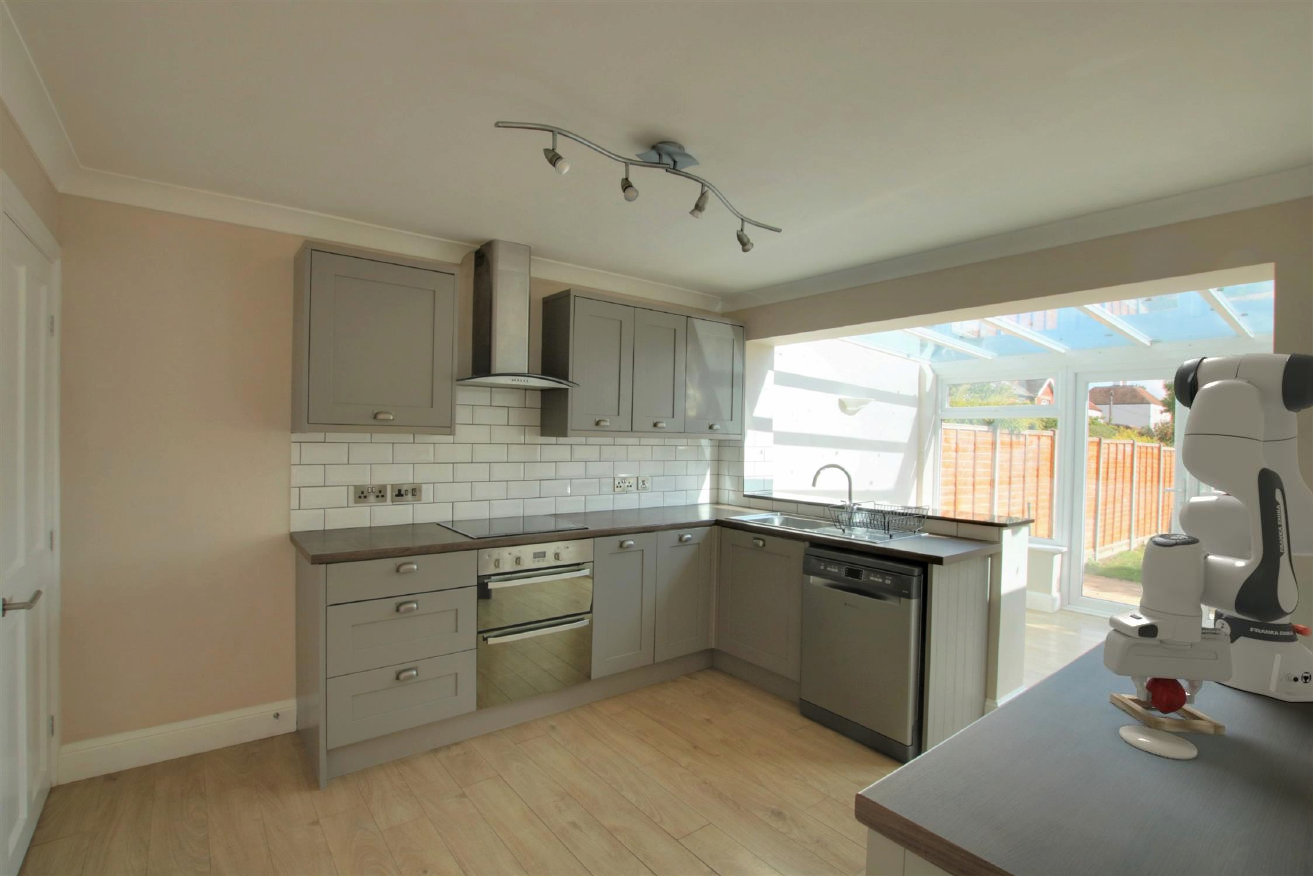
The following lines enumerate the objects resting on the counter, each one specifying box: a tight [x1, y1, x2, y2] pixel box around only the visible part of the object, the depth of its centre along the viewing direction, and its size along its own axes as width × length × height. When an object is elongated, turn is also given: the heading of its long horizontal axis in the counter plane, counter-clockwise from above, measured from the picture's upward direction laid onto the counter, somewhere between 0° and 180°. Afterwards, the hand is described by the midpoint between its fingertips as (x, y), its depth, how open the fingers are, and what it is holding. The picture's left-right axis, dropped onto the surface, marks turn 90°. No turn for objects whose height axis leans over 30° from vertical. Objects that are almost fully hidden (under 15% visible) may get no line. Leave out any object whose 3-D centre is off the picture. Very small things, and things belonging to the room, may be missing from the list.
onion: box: [1145, 678, 1186, 715], centre depth 114 cm, size 6×6×8 cm
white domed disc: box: [1118, 725, 1198, 761], centre depth 104 cm, size 10×10×1 cm
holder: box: [1109, 693, 1226, 736], centre depth 114 cm, size 12×12×2 cm
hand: (1164, 701), depth 114 cm, fingers closed on onion, 6 cm apart
